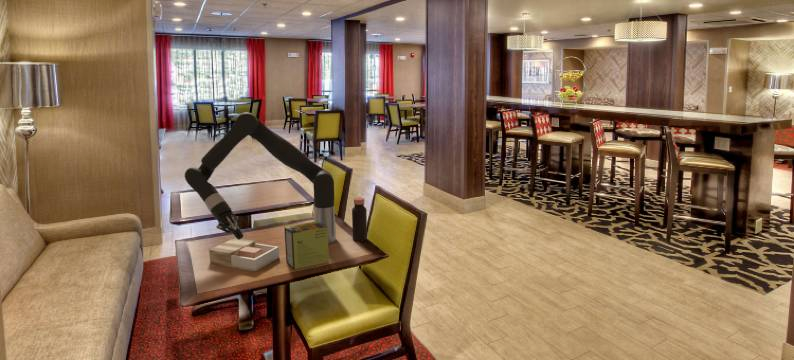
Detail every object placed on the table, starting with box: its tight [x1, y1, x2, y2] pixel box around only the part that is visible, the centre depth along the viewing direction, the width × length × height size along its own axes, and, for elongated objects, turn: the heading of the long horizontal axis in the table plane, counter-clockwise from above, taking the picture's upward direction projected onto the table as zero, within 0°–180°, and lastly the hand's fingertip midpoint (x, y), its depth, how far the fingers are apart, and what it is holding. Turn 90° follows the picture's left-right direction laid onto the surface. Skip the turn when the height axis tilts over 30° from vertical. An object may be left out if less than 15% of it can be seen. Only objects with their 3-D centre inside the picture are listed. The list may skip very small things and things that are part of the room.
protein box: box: [283, 220, 330, 270], centre depth 210 cm, size 10×15×16 cm
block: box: [238, 247, 262, 259], centre depth 210 cm, size 5×5×8 cm
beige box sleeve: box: [208, 237, 256, 268], centre depth 215 cm, size 16×11×6 cm
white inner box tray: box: [231, 242, 280, 272], centre depth 211 cm, size 16×12×5 cm
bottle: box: [351, 196, 368, 242], centre depth 236 cm, size 7×7×20 cm
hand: (241, 238), depth 211 cm, fingers closed
